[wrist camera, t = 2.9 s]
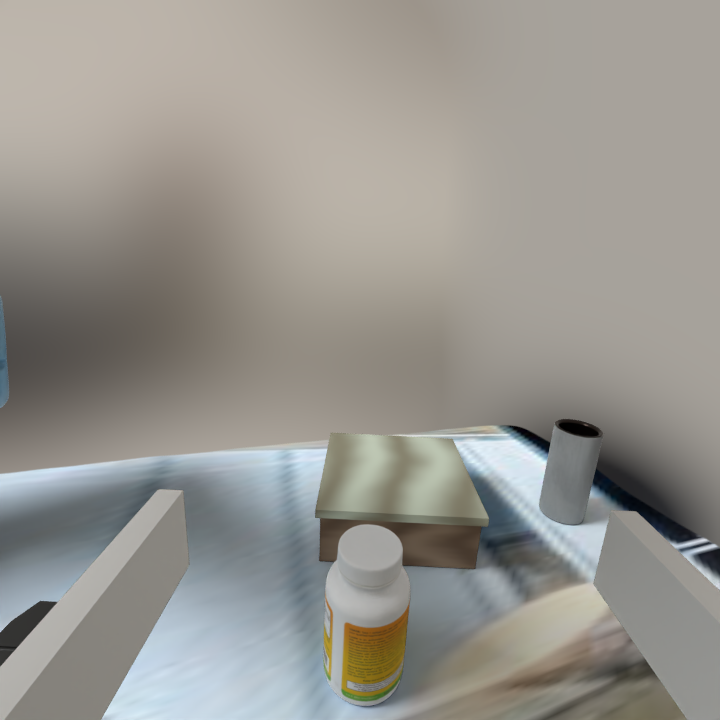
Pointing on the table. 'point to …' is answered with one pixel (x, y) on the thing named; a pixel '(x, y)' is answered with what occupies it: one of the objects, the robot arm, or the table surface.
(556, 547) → the table surface
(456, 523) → the podium
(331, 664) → the supplement bottle
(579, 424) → the grey hollow cylinder
